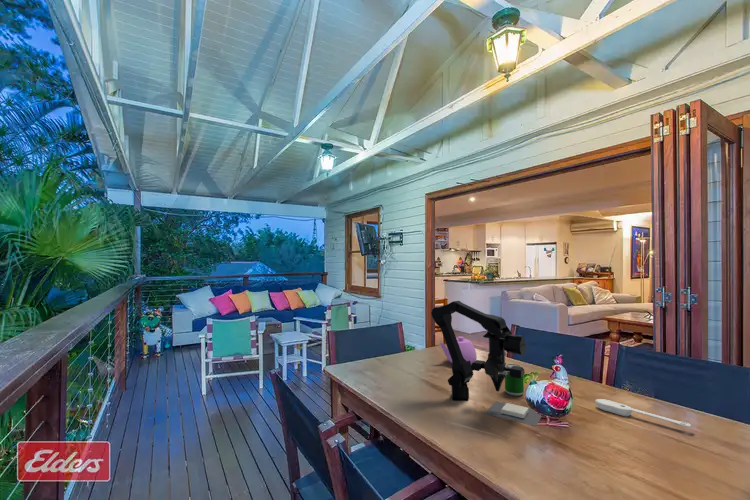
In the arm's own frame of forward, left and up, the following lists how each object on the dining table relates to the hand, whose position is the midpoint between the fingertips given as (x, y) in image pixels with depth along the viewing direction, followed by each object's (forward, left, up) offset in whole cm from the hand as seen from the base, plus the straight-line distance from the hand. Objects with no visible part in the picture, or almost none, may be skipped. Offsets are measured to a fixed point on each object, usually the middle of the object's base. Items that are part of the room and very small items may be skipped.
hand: (497, 391), depth 135 cm
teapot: (-8, +61, -8) cm, 62 cm away
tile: (+2, -1, -6) cm, 6 cm away
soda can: (+11, +17, -7) cm, 22 cm away
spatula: (+48, -4, -7) cm, 49 cm away
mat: (+5, -3, -7) cm, 9 cm away
